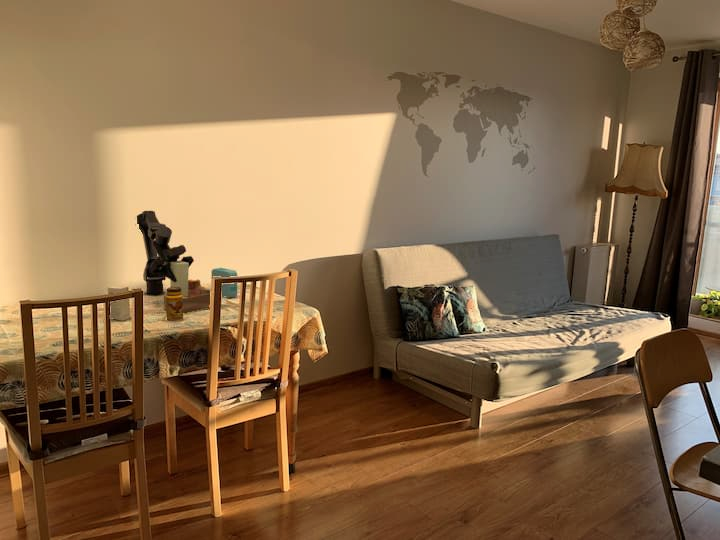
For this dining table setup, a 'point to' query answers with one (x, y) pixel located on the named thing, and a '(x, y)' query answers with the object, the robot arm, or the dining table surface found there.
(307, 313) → the dining table surface
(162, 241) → the robot arm
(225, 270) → the data package
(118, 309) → the skincare box
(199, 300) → the walnut box
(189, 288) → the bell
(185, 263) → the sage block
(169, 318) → the condiment
